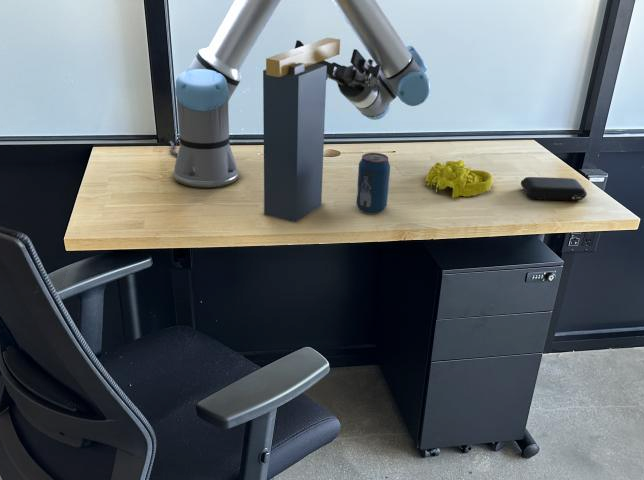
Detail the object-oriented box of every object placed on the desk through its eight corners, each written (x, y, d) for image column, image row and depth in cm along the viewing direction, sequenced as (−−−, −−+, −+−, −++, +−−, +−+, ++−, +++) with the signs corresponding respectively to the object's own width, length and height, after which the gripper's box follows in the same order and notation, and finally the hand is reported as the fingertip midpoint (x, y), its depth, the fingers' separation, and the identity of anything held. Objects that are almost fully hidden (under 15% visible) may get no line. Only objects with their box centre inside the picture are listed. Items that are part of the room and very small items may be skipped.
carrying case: (528, 202, 176) (589, 204, 177) (531, 190, 175) (592, 192, 176) (517, 186, 185) (575, 188, 186) (520, 174, 183) (578, 176, 184)
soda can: (385, 204, 171) (389, 152, 164) (387, 215, 166) (392, 162, 159) (355, 203, 171) (358, 151, 164) (356, 214, 165) (360, 161, 158)
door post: (290, 197, 172) (292, 51, 154) (321, 204, 169) (327, 57, 151) (264, 214, 163) (262, 61, 145) (295, 222, 160) (298, 68, 142)
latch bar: (327, 52, 162) (327, 37, 160) (339, 54, 161) (340, 39, 159) (266, 74, 143) (265, 58, 141) (279, 77, 142) (279, 60, 140)
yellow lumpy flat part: (502, 192, 182) (505, 175, 179) (447, 200, 175) (450, 183, 173) (463, 170, 193) (465, 154, 191) (411, 177, 187) (413, 160, 185)
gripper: (315, 62, 181) (278, 25, 161) (410, 78, 173) (383, 41, 153) (307, 93, 182) (269, 60, 162) (401, 110, 174) (373, 78, 154)
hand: (324, 51), depth 157 cm, fingers open, 13 cm apart
